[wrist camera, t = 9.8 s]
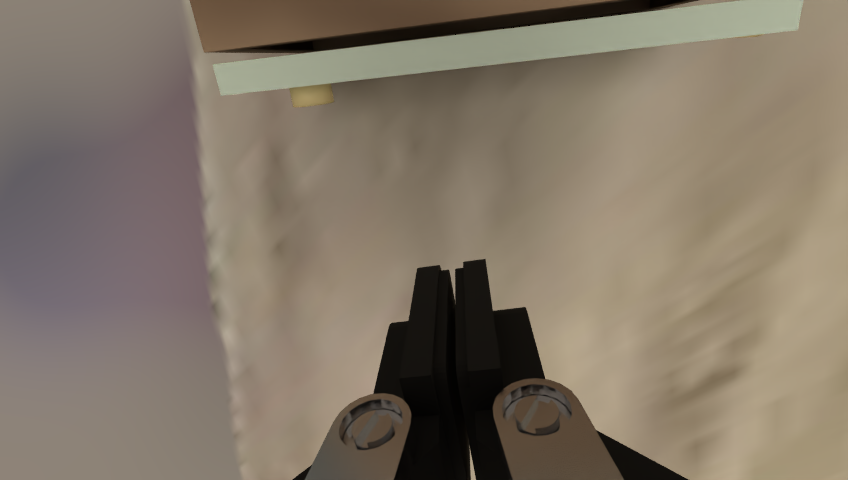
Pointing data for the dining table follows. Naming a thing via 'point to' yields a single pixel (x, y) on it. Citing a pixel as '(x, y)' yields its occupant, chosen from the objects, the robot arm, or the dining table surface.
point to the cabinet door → (504, 47)
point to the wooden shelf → (377, 20)
